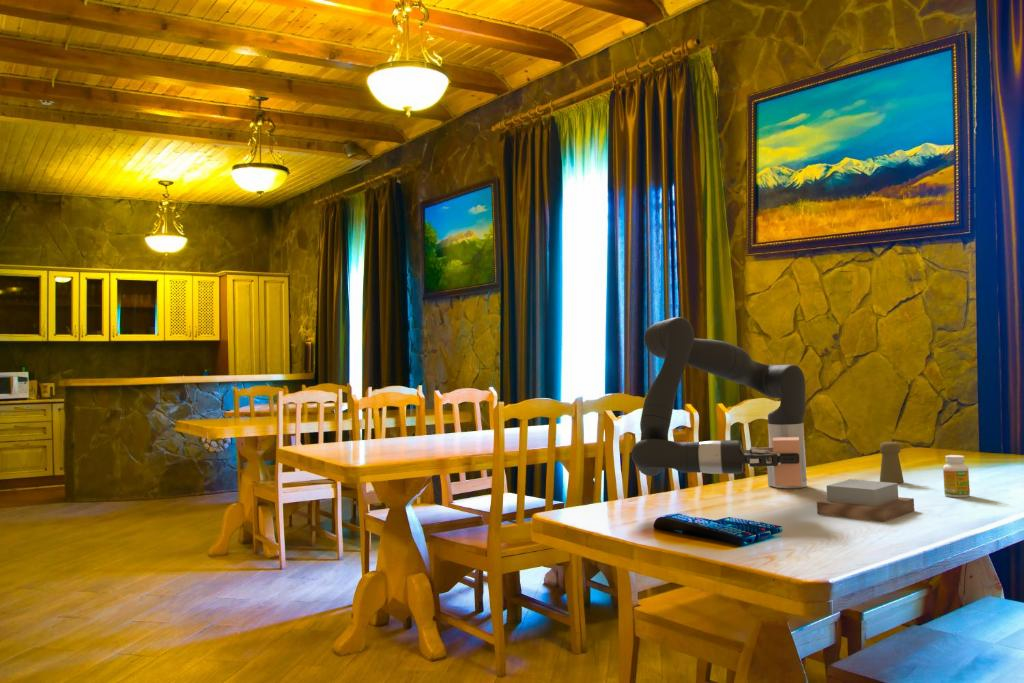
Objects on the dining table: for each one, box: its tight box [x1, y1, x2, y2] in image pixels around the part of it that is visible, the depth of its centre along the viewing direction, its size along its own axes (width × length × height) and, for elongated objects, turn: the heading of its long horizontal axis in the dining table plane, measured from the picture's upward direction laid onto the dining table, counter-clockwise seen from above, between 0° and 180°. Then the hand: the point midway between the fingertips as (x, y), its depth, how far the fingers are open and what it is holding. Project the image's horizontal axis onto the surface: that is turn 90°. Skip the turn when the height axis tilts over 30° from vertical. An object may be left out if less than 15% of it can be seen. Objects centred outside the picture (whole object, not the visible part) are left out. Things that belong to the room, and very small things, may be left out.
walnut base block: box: [816, 496, 915, 523], centre depth 181 cm, size 15×15×4 cm
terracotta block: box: [773, 437, 802, 486], centre depth 179 cm, size 6×6×10 cm
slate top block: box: [826, 479, 899, 506], centre depth 181 cm, size 11×11×4 cm
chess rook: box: [879, 441, 905, 485], centre depth 219 cm, size 6×6×11 cm
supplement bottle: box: [942, 454, 971, 499], centre depth 195 cm, size 5×5×10 cm
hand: (798, 456), depth 178 cm, fingers closed on terracotta block, 5 cm apart
